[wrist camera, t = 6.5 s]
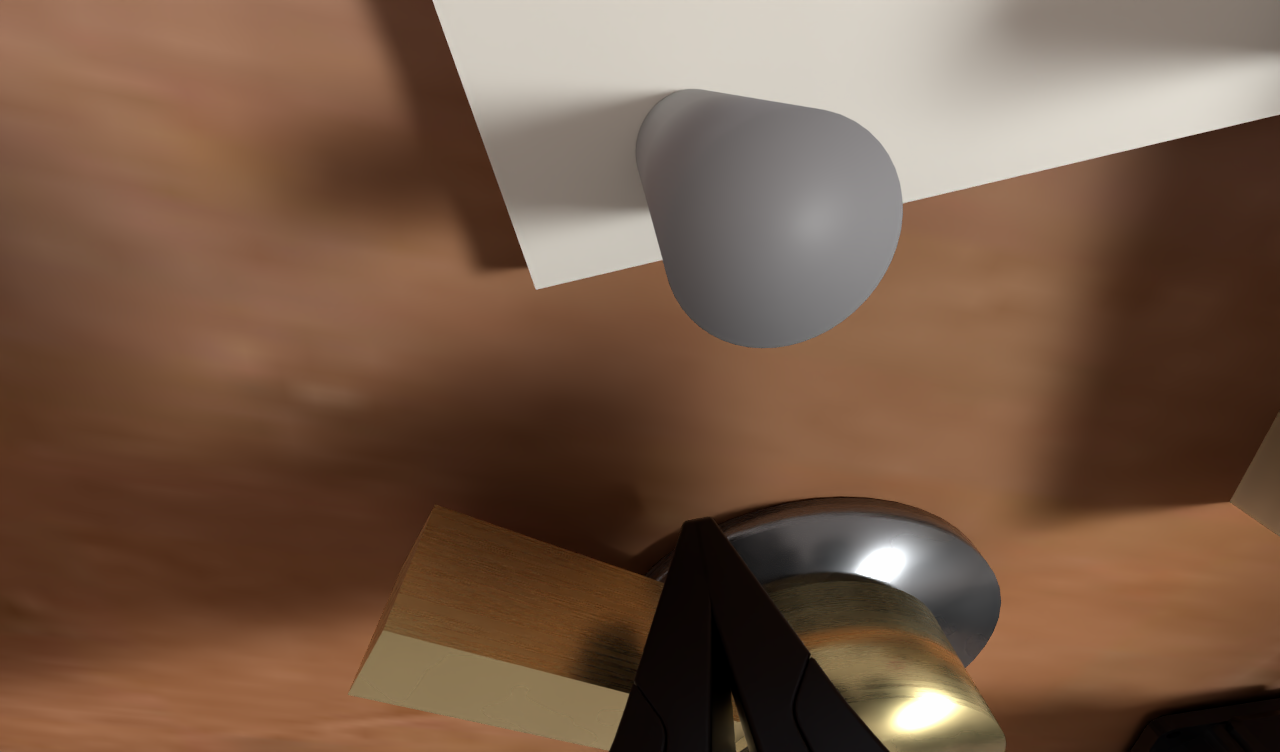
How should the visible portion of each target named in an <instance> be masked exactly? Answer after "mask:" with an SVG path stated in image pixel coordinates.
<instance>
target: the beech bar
mask: <svg viewBox="0 0 1280 752" xmlns="http://www.w3.org/2000/svg"><path fill="white" fill-rule="evenodd" d="M1230 503H1232V504H1233V505H1235V506H1236V507H1238V508H1239V509H1241V510H1242V511H1243V512H1245V513H1246V514H1248V515H1249V516H1251V517H1252V518H1254V519H1255V520H1257V521H1258V522H1259V523H1261V524H1262V525H1264V526H1265V527H1267V528H1268V529H1270V530H1271V531H1272V532H1274V533H1275V534H1277V535H1278V536H1280V411H1279V413H1278V415H1277V416H1276V418H1275V420H1274V422H1273V424H1272V426H1271V427H1270V429H1269V431H1268V433H1267V435H1266V436H1265V438H1264V440H1263V442H1262V444H1261V446H1260V447H1259V449H1258V451H1257V453H1256V455H1255V456H1254V458H1253V460H1252V462H1251V464H1250V466H1249V467H1248V469H1247V471H1246V473H1245V475H1244V476H1243V478H1242V480H1241V482H1240V484H1239V486H1238V487H1237V489H1236V491H1235V493H1234V495H1233V496H1232V498H1231V500H1230Z"/></svg>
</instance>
